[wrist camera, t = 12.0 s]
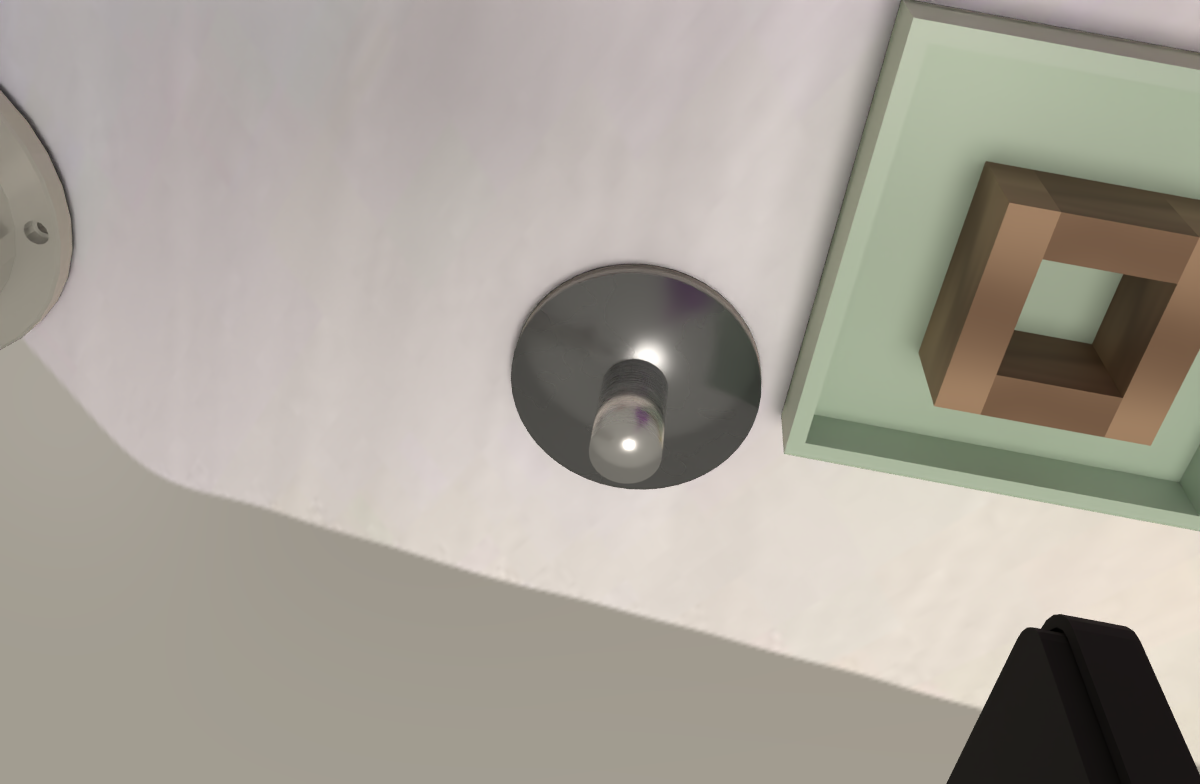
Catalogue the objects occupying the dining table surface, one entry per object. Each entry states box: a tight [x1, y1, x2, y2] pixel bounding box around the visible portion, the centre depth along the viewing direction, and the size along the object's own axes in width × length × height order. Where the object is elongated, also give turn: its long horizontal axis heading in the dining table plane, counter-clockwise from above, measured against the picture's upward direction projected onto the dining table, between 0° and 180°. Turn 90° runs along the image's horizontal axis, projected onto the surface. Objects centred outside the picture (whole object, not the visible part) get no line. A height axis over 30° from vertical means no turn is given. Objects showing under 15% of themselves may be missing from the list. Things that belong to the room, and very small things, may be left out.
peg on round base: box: [511, 264, 761, 489], centre depth 38 cm, size 9×9×5 cm
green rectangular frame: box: [781, 0, 1200, 531], centre depth 36 cm, size 15×15×2 cm
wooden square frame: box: [918, 161, 1200, 446], centre depth 35 cm, size 7×7×4 cm
